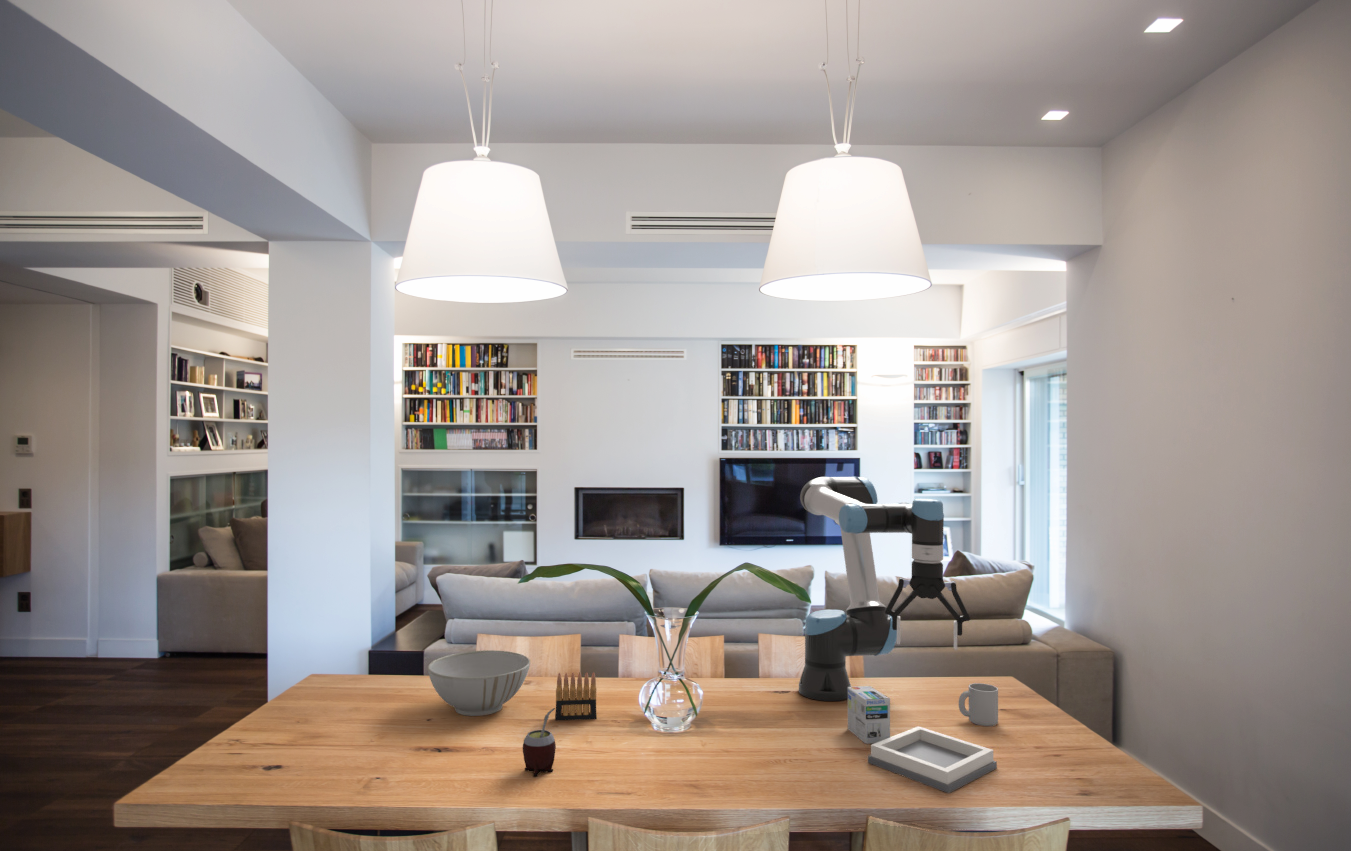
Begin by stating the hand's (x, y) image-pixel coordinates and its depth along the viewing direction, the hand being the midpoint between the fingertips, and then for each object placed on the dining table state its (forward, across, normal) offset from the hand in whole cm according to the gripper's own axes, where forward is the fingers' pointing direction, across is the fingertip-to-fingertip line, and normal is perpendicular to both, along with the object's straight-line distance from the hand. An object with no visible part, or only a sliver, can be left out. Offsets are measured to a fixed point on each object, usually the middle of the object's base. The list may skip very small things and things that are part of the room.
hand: (926, 645), depth 195 cm
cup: (+22, +13, +13) cm, 29 cm away
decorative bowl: (+22, -115, -22) cm, 119 cm away
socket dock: (+22, +1, -21) cm, 30 cm away
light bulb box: (+22, -14, -7) cm, 27 cm away
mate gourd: (+22, -80, -53) cm, 98 cm away
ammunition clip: (+22, -87, -20) cm, 92 cm away
